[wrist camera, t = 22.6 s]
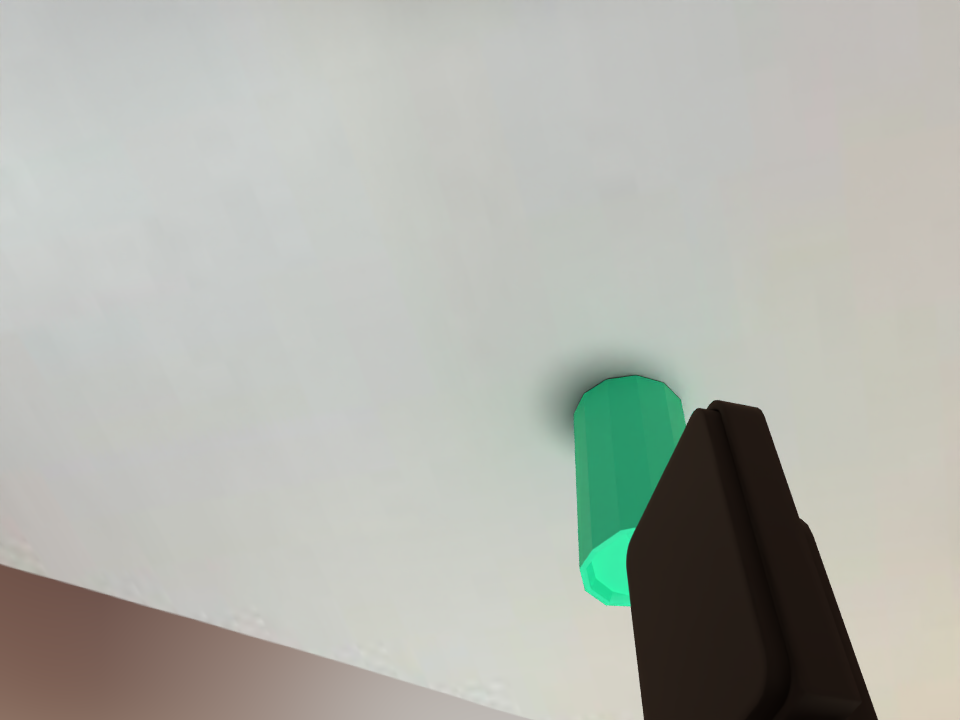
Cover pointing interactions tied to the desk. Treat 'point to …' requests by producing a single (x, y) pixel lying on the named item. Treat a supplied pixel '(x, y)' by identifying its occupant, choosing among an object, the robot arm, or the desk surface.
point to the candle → (619, 473)
